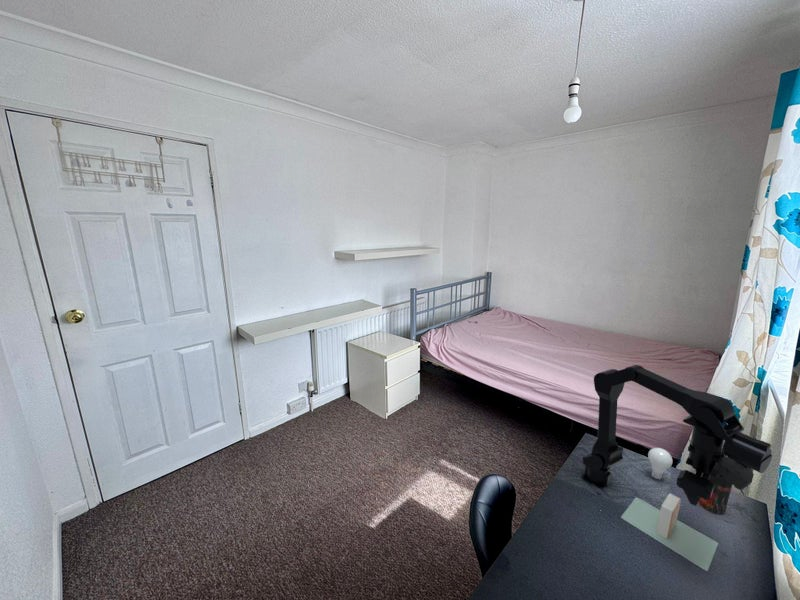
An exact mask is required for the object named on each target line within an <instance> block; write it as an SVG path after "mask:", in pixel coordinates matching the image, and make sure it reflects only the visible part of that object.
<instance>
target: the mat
mask: <svg viewBox="0 0 800 600" xmlns="http://www.w3.org/2000/svg"><path fill="white" fill-rule="evenodd" d="M660 510H661V509H659V508H656V507H655V506H654V505H651V504H650V503H648V502H646V501H644V500H643V499H641V498H639V497H637V496H636V497H635V498H634V499H633V500H632V502H631V503H630V505H629V506H628V507H627V508H626V509H625V511H624V512H623V514H622V515H621V516H620V519H622V520H624V521H625V522H627V523H629V524H630V525H632V526H634V527H635V528H637V529H638V530H640V531H641V532H643V533H645V534H646V535H647V536H649V537H651V538H652V539H654V540H656V541H657V542H659V543H661V544H662V545H664V546H666V547H667V548H669V549H670V550H672V551H673V552H675V553H677V554H678V555H680V556H681V557H683V558H685V559H686V560H688V561H690V563H691V562H692V564H694V565H696V566H698V567H700V568H701V569H703V571H706V572H708V571H709V569H710V566H711V563H712V561H713V559H714V555H715V554H716V551H717V548H718V546H719V542H717V541H716V540H714V539H712V538H710V537H709V536H707V535H705V534H704V533H701V532H699V531H697V529H694V528H693V527H691V526H689V525H687V524H685V523H683V522H681V521H680V520H678V519H677V522H676V526H675V527H674V529H673V531H672V533H671V535H670V536H669V538H667V539H666V538H664V537H663V536H661V535H659V534H658V533H656V529H657V524H658V520H659V515H660Z"/></svg>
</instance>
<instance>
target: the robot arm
mask: <svg viewBox="0 0 800 600" xmlns="http://www.w3.org/2000/svg"><path fill="white" fill-rule="evenodd" d="M628 382H634V383H636V384H638V385H639V386H642V387H644V388H646V389H648V390H650V391H651V392H654V393H655V394H658V395H660V396H662V397H663V398H665V399H668V400H670V401H672V402H673V403H676V404H678V405H679V406H680V407H681V408H683V409H684V410H685V412H686V413H687V414H688V416H687V417H685V418H683V420H682V422H683V423H685V424H687V425H689V426H691V427H692V431H691V439H690V443H689V445H688V447H687V451H688V456H687V458H686V460H685V465H688V466H690V467H691V468H693V469H694V470H695V473H694V472H692V471H690V470H687V469H682V470H680V472H679V474H678V476H677V478H676V486H677V487H678V488H680V489H682V491H683V493H684V494H685V496H686V498H687V500H688V501H689V503H690V504H691V505H693V506H695V507H696V506H697V505H698V504H699V500H700V499H701V498H703V499H705V500H710V498H711V495H712V492H713V489H714V484H713V483H712V482H711V481H710V480H708V479H709V476H710V475H711V476H713V477H716V478H717V477H718V474H719V475H720V476H721V477H722V478H723V479H725V480H726V481H728V482H730V483H731V484H732V486H734V488H736V489H738V490H741V491H743V490H744V489H745V488H747V487H748V486H749V485H750V484H752V482H753V480H754V473H753V471H755V472H758V473H759V474H763V473H765V471H766V470H767V469H768V467H769V466H770V464H771V461H772V459H773V455H772V449H771V448H772V447H771V446H772V444H770V442H769V443H768V442H766V441H764V440H760V439H757V438H754V437H752V436H750V435H748V434H745V433H742V432H743V431H744V430H745V428H744V427H743V425H742V423H741V422H740V420H739V418H738V417H737V415H736V413H735V412H736V411H735V408H734V406H733V405H732V403H731V401H730V400H728V399H727V398H724V397H722V396H720V395H719V396H718V395H716V394H713V393H708V392H705V391H699V390H694V389H690V388H688V387H685V386H684V385H681V384H679V383H677V382H676V381H675V382H674V381H672V380H671V379H668V378H666V377H664V376H662V375H659V374H657V373H656V372H652V371H650V370H648V369H646V368H644V367H643V366H642V365H638V364H633V365H630V366H627V367H625V368H622V369H619V370H618V369H616V368H610V369H607V370H604V371H600V372H598V373H596V374H595V375H594V376H593V385H594V386H593V387H594V391H595V393H596V394H597V396H598V424H597V439H596V440H595V442H594V444H593V446H592V448H591V452H590V453H589V454H587V455H585V456H582V457H581V458H582V463H583V465H584V466H585V467H584V474H583V475H582V476H581V479H582V480H584V481H586V482H588V483H589V484H592V485H593V486H595V487H596V488H599V489H601V490H603V489H604V488H605V487H608V486H609V485H610V484H611V477H612V472H611V467H613V466H614V465H617V464H618V463H620V462H621V461H622V460H623V459H624V457H623V451H624V448H623V447H622V446H619V445H618V442H617V441H616V434H617V414H618V400H619V397H620V396H621V394H622V393H623V391H624V388H625V387H624V386H625V383H628ZM724 423H726V425H725V426H723V424H724Z"/></svg>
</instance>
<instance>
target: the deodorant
mask: <svg viewBox="0 0 800 600" xmlns="http://www.w3.org/2000/svg"><path fill="white" fill-rule="evenodd" d="M708 480H710V481H711V482H712V483H713V484H714V489H713V492H712V495H711V498H710V500H705V499H703V498H701V499H700V500H699V502H698V504H699V505H700V506H701V507H702V508H703V509H704V510H705V511H707V512H708V513H712V514H715V515H719V516H722V515H724V514H725V513H726V511H727V507H728V503H729V498H730V495H731V491H732V487H733V484H731V483H730V482H728V481H726V480H725V479H723V478H722V477H721V476H720V475H719V474H718V477H717V478H716V477H713V476H711V475H710V476H709V479H708Z"/></svg>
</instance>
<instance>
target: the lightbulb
mask: <svg viewBox="0 0 800 600" xmlns="http://www.w3.org/2000/svg"><path fill="white" fill-rule="evenodd" d="M647 456H648V457H647V458H648V461H649V462H650V464H651V469H652V471H651V476H652V477H653V478H654V479H655V480H661V479H662V478H663V474H664V472H665V471H666V470H667V469H669V468H671V466H672V465H673V458H672V455H671V454H670V452H669V451H668V450H666V449H664V448H662V447H653V448H651V449H650V450H649V451H648V453H647Z"/></svg>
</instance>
